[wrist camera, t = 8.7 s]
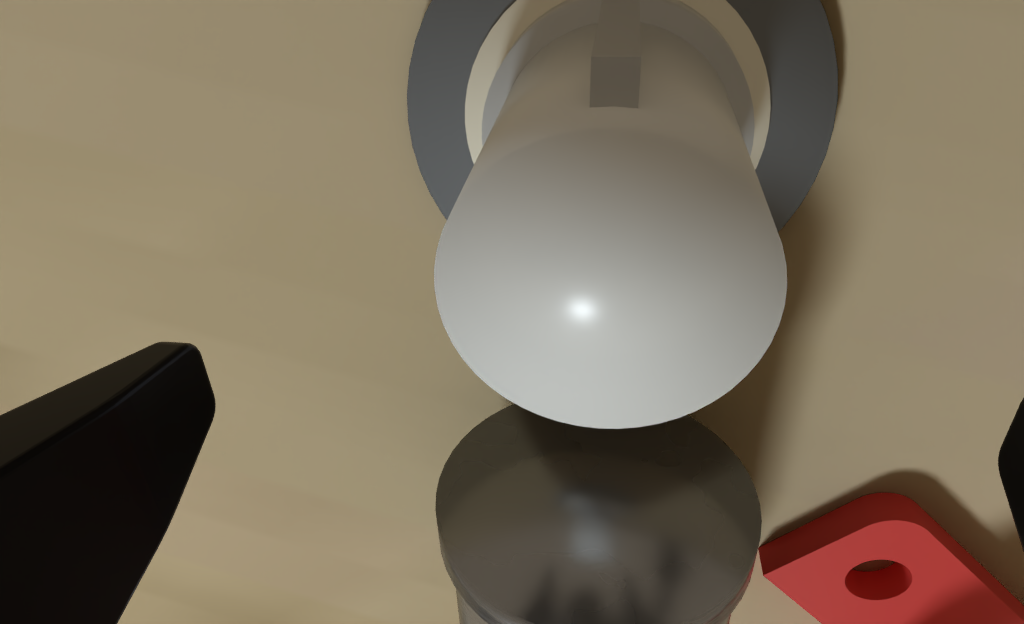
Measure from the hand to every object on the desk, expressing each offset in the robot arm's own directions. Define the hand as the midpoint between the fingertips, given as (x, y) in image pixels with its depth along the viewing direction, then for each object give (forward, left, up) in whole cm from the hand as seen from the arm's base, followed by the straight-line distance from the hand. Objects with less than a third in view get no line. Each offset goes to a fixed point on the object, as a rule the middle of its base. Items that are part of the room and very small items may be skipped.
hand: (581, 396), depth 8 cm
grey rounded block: (0, +12, -10) cm, 15 cm away
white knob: (0, 0, -9) cm, 9 cm away
